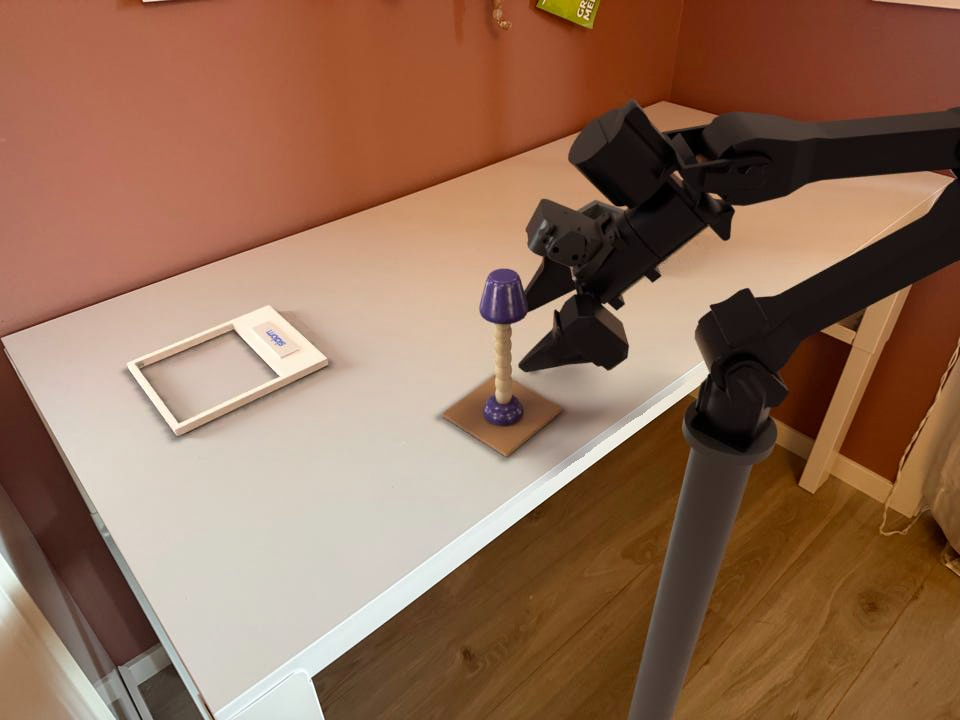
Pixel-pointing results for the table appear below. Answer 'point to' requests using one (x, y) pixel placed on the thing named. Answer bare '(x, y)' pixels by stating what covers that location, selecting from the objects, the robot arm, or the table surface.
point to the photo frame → (266, 338)
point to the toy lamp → (503, 340)
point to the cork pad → (500, 437)
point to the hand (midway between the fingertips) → (518, 339)
